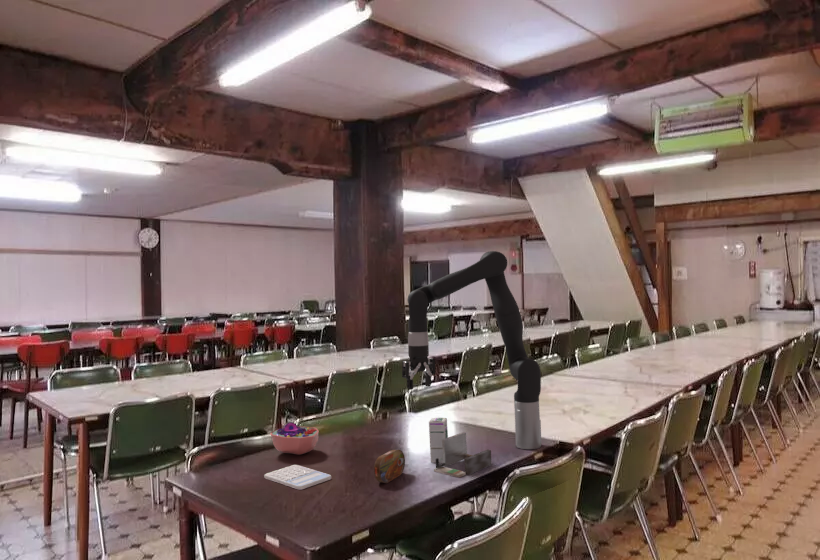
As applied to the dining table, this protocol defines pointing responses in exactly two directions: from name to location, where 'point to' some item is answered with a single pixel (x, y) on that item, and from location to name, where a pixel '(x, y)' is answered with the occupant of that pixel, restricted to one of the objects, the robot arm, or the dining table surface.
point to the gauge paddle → (453, 449)
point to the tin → (389, 466)
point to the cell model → (295, 438)
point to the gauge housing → (469, 464)
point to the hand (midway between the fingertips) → (419, 387)
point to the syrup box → (437, 437)
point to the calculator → (297, 477)
